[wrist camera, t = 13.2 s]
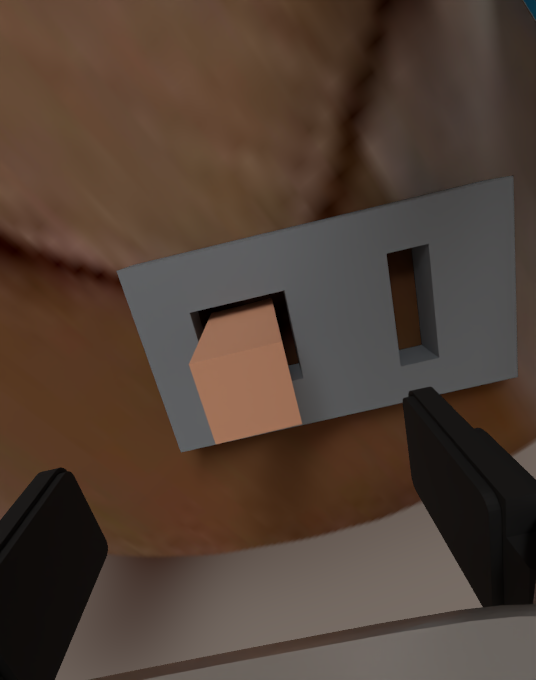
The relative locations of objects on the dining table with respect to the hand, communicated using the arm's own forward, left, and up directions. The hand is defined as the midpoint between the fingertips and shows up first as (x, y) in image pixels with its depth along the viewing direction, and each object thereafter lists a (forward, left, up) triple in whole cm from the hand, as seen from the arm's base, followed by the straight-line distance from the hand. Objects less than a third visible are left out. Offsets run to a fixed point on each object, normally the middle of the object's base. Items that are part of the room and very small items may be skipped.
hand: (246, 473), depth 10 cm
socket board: (+1, +5, -15) cm, 16 cm away
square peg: (+1, 0, -15) cm, 15 cm away
